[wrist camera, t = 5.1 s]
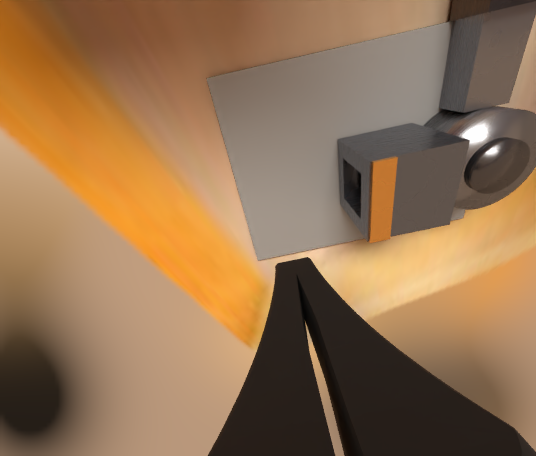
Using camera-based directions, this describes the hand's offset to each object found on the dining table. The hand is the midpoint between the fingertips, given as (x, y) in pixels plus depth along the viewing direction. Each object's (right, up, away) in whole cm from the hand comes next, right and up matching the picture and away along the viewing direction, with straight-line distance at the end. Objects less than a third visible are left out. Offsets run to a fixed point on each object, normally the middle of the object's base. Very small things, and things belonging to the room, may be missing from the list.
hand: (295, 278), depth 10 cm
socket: (+6, +7, +8) cm, 12 cm away
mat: (+5, +7, +8) cm, 12 cm away
